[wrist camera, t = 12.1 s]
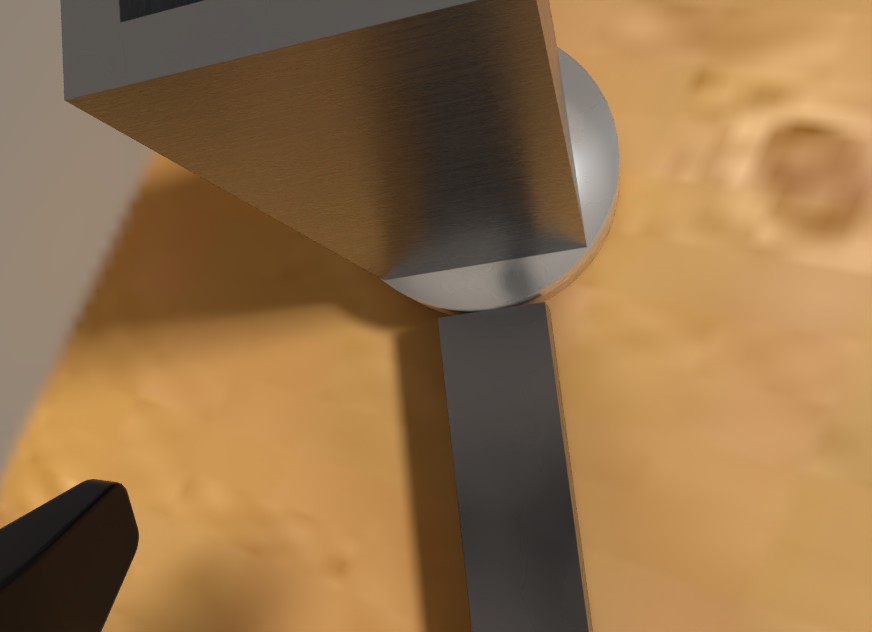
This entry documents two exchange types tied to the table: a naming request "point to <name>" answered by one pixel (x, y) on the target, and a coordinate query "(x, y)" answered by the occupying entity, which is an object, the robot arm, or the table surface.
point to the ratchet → (521, 401)
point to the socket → (349, 117)
